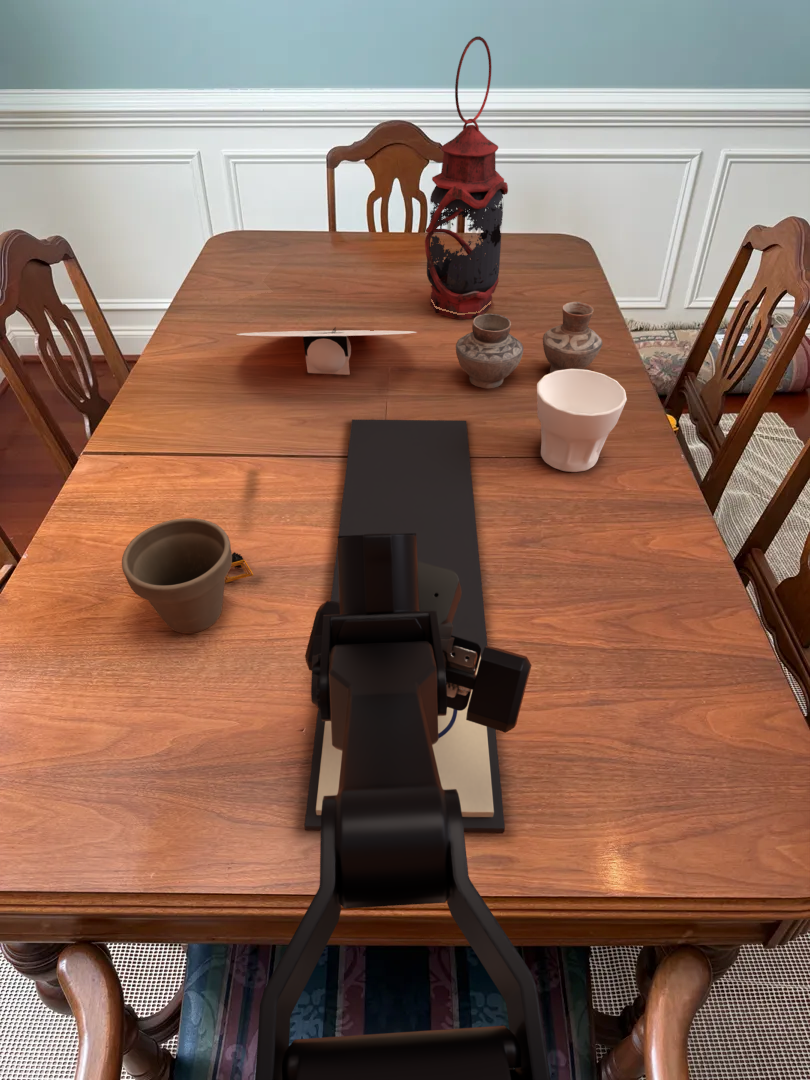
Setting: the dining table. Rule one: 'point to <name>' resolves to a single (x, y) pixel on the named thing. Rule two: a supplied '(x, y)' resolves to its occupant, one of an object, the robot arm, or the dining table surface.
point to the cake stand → (327, 347)
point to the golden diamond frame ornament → (238, 563)
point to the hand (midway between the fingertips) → (435, 654)
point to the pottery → (500, 353)
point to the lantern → (467, 187)
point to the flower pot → (180, 571)
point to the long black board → (442, 540)
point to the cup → (577, 416)
